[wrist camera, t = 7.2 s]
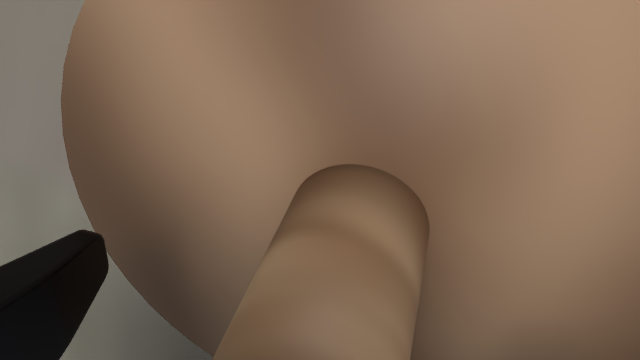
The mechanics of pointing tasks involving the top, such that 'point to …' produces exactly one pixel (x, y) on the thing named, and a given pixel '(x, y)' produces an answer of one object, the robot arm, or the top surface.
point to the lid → (367, 173)
